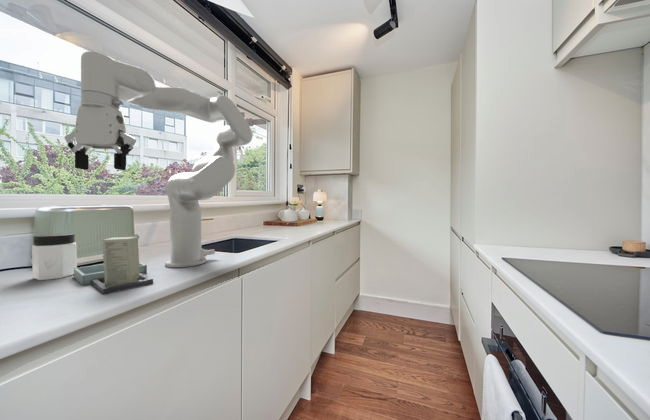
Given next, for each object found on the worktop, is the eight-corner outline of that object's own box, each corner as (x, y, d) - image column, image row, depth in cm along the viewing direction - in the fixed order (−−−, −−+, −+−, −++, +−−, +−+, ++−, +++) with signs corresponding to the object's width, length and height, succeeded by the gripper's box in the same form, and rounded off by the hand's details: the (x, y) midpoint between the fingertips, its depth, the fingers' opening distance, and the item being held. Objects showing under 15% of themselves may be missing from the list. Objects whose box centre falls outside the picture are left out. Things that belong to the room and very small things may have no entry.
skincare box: (140, 280, 68) (139, 236, 68) (131, 285, 64) (130, 238, 64) (113, 282, 67) (112, 236, 67) (102, 287, 63) (101, 239, 62)
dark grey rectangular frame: (137, 275, 73) (137, 271, 73) (153, 283, 66) (153, 278, 66) (91, 284, 65) (91, 279, 65) (103, 294, 58) (103, 289, 58)
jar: (26, 282, 66) (25, 237, 66) (38, 275, 73) (37, 234, 73) (73, 277, 71) (72, 235, 71) (80, 270, 78) (79, 232, 78)
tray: (133, 267, 83) (133, 259, 82) (146, 273, 75) (146, 265, 75) (73, 276, 71) (73, 268, 71) (82, 285, 64) (82, 275, 64)
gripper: (144, 110, 70) (144, 171, 70) (79, 108, 69) (80, 170, 69) (124, 99, 63) (124, 167, 63) (51, 97, 62) (51, 166, 62)
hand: (101, 169), depth 66 cm, fingers open, 9 cm apart
